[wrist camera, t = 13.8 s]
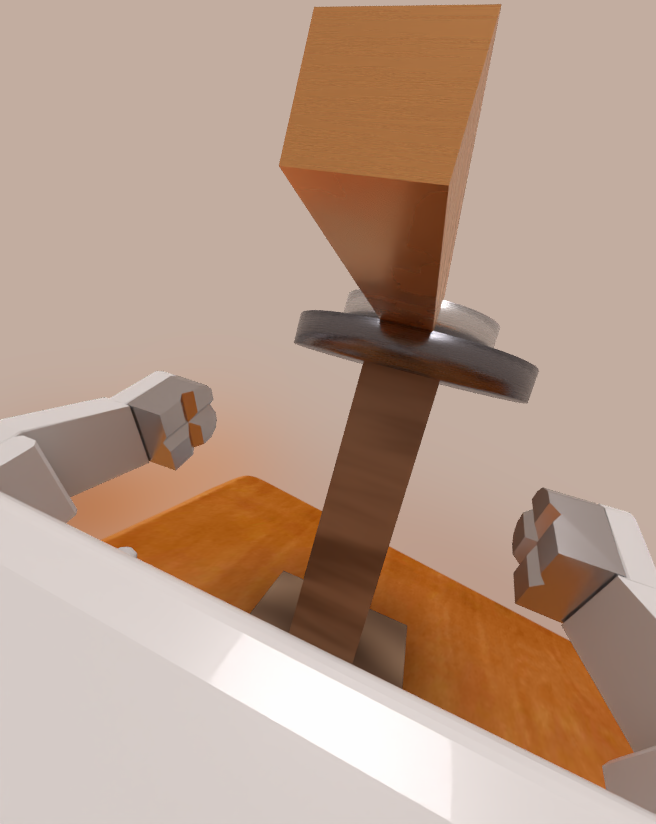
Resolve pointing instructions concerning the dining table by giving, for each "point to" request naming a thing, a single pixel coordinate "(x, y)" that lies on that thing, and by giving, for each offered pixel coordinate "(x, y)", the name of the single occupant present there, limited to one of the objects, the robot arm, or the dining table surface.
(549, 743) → the dining table surface
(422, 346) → the pedestal
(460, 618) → the dining table surface
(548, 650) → the dining table surface
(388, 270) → the cover
